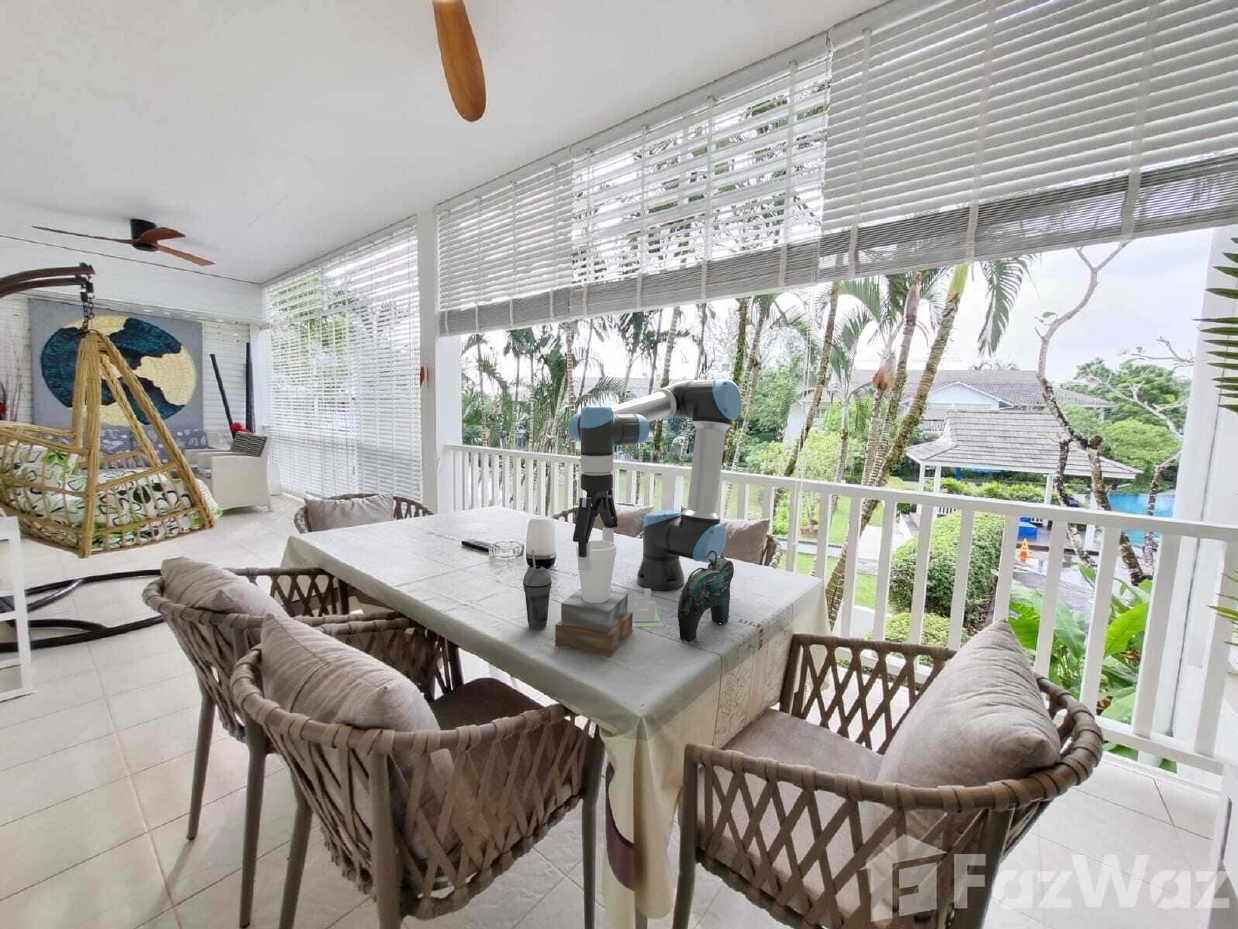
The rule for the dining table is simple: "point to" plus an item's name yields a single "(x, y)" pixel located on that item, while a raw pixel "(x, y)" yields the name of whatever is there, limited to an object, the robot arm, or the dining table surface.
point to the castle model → (642, 609)
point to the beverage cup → (537, 595)
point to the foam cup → (598, 571)
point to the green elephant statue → (705, 596)
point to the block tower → (594, 624)
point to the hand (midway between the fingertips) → (596, 561)
